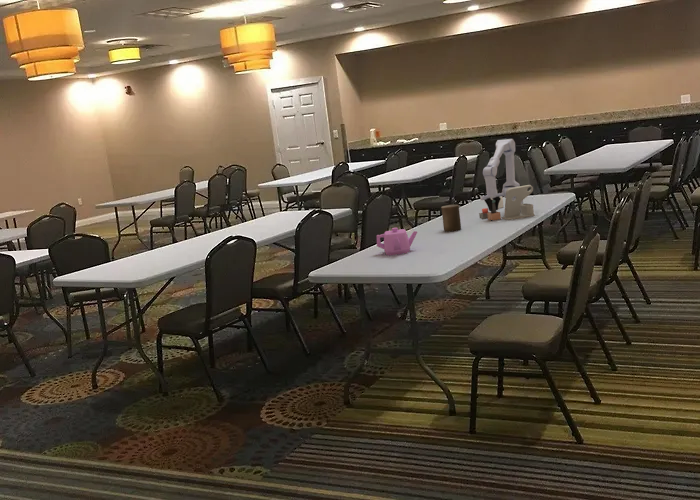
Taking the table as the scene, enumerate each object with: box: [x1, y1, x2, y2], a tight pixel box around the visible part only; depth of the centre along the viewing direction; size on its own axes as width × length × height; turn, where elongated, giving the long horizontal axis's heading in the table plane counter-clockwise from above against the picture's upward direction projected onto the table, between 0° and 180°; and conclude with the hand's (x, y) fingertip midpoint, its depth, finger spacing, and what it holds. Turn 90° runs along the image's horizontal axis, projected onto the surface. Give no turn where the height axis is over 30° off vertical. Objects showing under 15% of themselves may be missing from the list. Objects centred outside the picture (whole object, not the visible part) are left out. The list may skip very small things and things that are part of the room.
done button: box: [481, 207, 489, 214], centre depth 430 cm, size 3×3×3 cm
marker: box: [490, 200, 497, 214], centre depth 420 cm, size 3×3×8 cm
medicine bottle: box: [490, 188, 504, 210], centre depth 462 cm, size 7×7×12 cm
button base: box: [478, 211, 491, 220], centre depth 430 cm, size 6×6×3 cm
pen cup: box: [487, 210, 502, 221], centre depth 421 cm, size 6×6×4 cm
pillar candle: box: [441, 204, 462, 232], centre depth 404 cm, size 10×10×15 cm
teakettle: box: [376, 227, 418, 256], centre depth 363 cm, size 17×17×12 cm
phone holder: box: [501, 184, 535, 221], centre depth 417 cm, size 17×10×18 cm, turn 106°
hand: (493, 210), depth 420 cm, fingers closed on marker, 3 cm apart
